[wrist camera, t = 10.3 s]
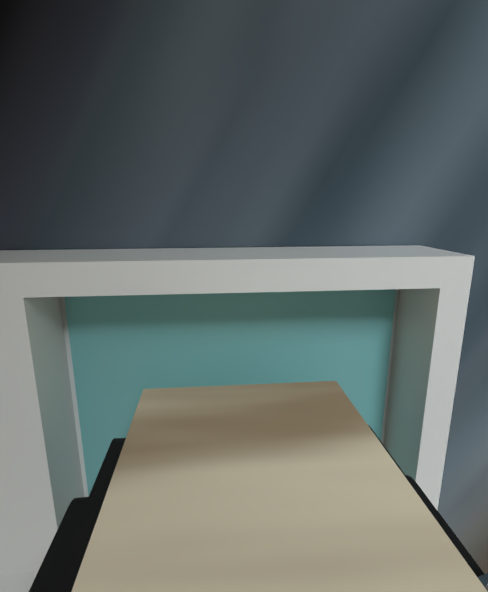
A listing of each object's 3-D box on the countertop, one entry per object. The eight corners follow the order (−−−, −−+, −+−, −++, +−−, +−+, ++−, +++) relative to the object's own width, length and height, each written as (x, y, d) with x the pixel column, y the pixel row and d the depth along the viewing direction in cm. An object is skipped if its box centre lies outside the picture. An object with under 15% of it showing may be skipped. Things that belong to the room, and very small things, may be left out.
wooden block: (143, 388, 9) (36, 688, 4) (335, 380, 10) (518, 635, 4) (154, 548, 11) (87, 967, 5) (325, 534, 11) (455, 902, 5)
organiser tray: (-402, 255, 10) (-606, 271, 7) (419, 245, 12) (475, 256, 9) (-258, 600, 12) (-371, 695, 10) (386, 545, 14) (421, 614, 12)
